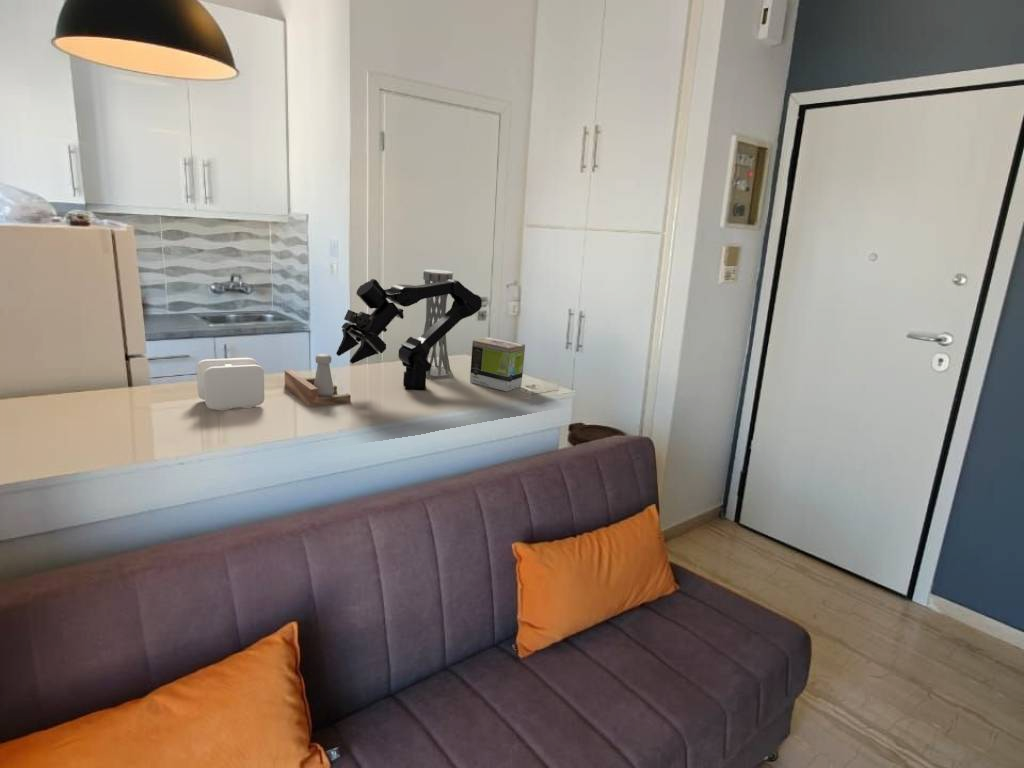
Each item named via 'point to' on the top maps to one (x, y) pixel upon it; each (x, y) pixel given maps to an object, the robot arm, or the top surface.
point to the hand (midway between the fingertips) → (343, 358)
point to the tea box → (497, 363)
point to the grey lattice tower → (443, 356)
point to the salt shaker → (323, 376)
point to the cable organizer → (230, 383)
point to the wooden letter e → (311, 391)
